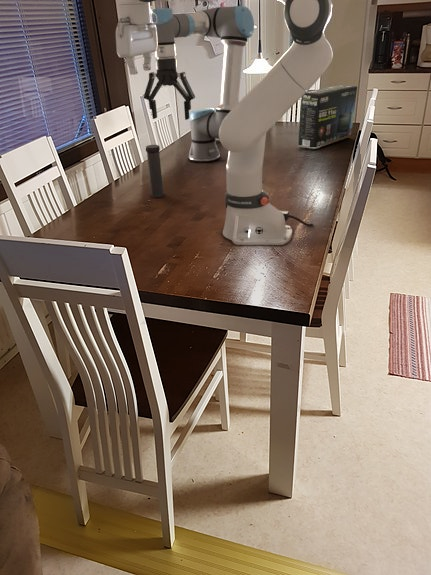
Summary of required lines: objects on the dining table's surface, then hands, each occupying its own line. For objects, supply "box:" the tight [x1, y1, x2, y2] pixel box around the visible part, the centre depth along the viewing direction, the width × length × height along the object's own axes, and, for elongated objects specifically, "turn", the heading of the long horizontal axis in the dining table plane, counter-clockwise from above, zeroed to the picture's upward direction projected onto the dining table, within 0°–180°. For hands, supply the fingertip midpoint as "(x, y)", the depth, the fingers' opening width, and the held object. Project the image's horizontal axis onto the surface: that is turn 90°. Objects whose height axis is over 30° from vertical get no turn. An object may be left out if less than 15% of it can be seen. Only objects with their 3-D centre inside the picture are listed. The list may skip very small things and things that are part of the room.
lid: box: [145, 144, 161, 153], centre depth 174 cm, size 5×5×2 cm
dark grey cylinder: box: [146, 151, 164, 198], centre depth 179 cm, size 5×5×19 cm
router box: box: [297, 84, 358, 151], centre depth 238 cm, size 36×11×27 cm, turn 134°
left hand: (171, 118), depth 178 cm, fingers open, 13 cm apart
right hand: (140, 72), depth 133 cm, fingers open, 8 cm apart
